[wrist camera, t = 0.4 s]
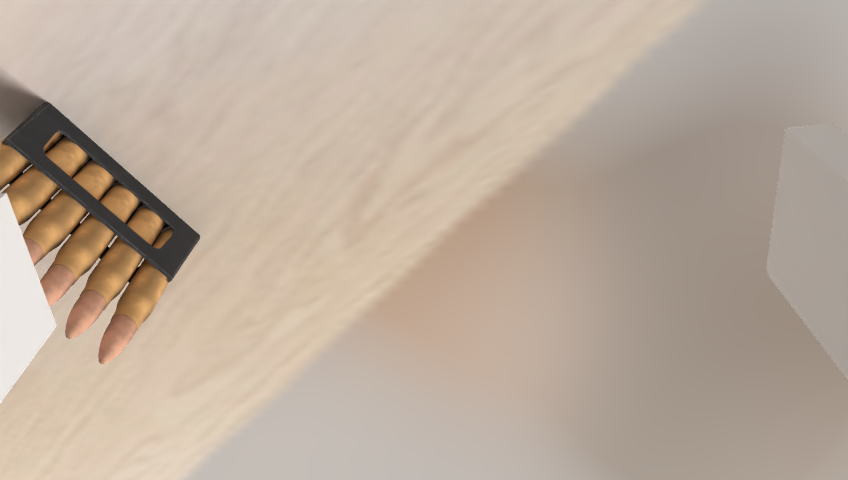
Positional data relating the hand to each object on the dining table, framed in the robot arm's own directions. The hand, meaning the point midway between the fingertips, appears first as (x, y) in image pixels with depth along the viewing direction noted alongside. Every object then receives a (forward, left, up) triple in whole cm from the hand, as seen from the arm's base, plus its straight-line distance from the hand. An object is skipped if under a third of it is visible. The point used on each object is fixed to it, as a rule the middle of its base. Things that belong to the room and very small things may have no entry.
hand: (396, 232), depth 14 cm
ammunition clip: (+10, -17, -28) cm, 34 cm away
